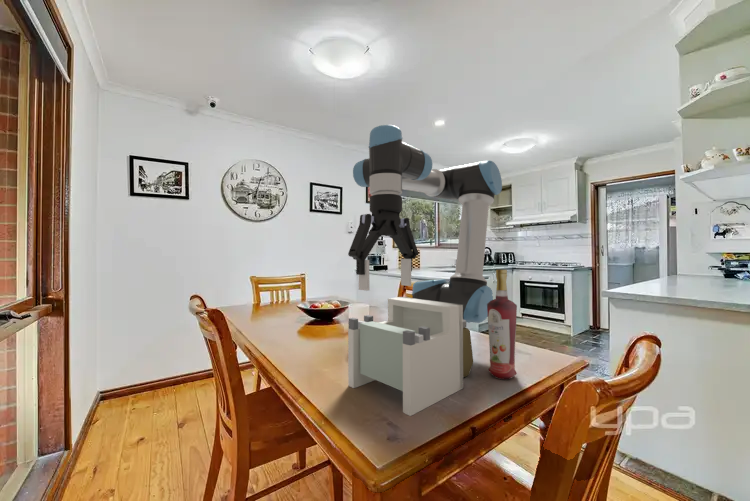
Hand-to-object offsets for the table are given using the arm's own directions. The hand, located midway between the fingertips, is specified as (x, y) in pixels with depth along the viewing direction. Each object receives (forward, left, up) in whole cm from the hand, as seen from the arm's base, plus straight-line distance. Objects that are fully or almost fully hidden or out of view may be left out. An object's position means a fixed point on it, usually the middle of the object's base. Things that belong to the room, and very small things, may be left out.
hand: (386, 287), depth 73 cm
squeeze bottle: (-23, +4, -25) cm, 34 cm away
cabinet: (-6, 0, -25) cm, 25 cm away
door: (0, 0, -21) cm, 21 cm away
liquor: (-30, +13, -25) cm, 41 cm away
